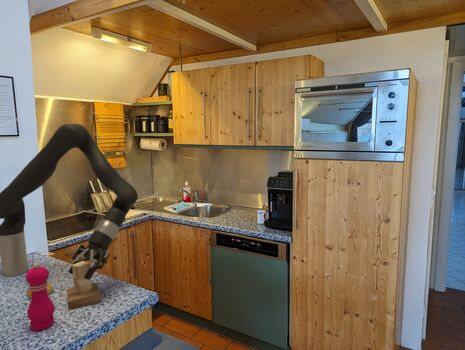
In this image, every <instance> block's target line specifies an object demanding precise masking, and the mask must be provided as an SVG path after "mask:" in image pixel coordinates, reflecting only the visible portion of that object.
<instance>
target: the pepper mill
mask: <svg viewBox="0 0 465 350" xmlns="http://www.w3.org/2000/svg"><path fill="white" fill-rule="evenodd" d="M49 277H50V272H49V270H48V268H47V267H44V266H43V265H42V266H41V264H40V263H39V262H34V263H33V265H32V268H30V269H28V270H27V271H26V274H25V281H26V282H27V284H28V288H29V290H30V291H31V298H30V302H29V305H28V308H27V313H26V314H27V315H26V316H27V319H29V321H30V322H29V326H30V329H31V330H32V331H38V332H39V331H43V330H45V329H48V328H50V327H51V326H52V325H53V324H54V323H55V319H54V317H55V316H54V315H53V314H54V313H55V311H56V310H55V305H54V302H53V300H52V299H51V298H50V296H49V295H48V294H47V286H48V282H49V281H48V278H49Z"/></svg>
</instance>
